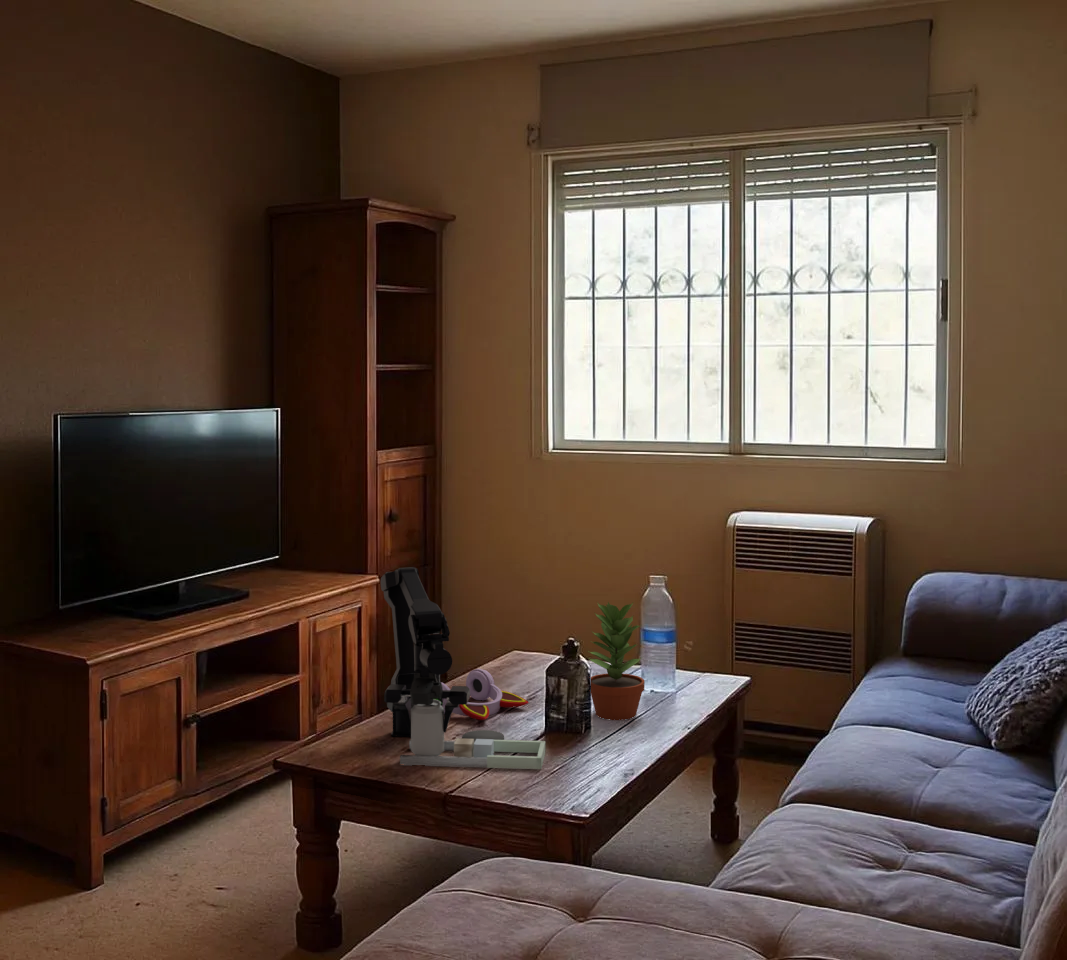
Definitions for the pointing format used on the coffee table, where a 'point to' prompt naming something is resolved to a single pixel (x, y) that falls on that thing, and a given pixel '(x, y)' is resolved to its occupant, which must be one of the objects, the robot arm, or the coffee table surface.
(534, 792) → the coffee table surface
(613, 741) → the coffee table surface
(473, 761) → the channel
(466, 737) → the coaster
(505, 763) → the tray
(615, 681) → the potted plant
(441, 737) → the can
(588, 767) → the coffee table surface
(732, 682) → the coffee table surface
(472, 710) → the headphones
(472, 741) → the cream block
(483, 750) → the grey-blue block
